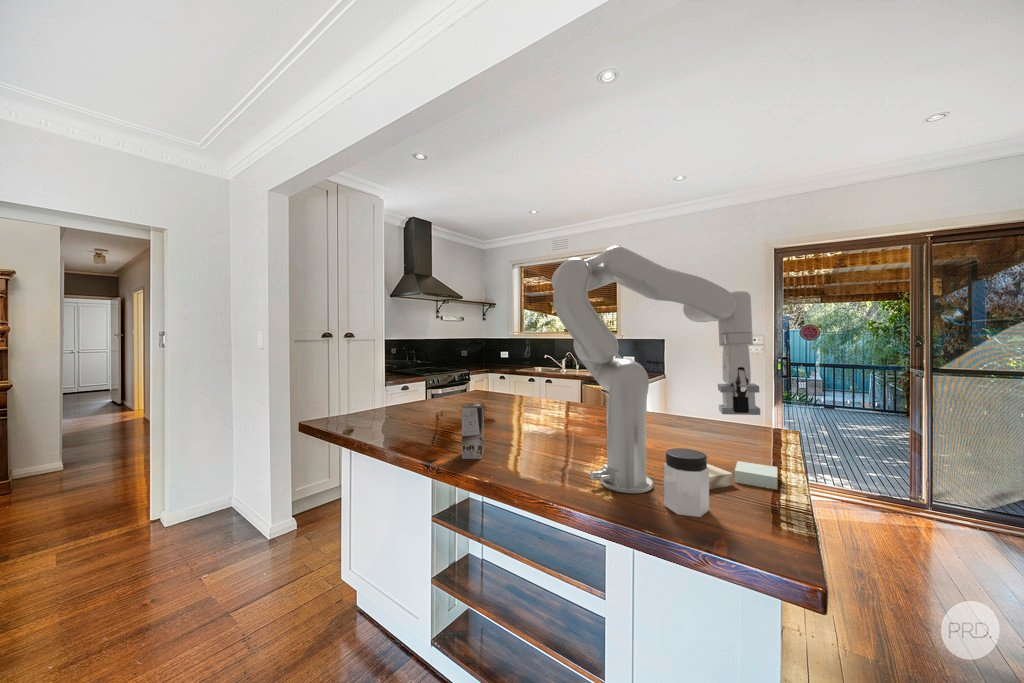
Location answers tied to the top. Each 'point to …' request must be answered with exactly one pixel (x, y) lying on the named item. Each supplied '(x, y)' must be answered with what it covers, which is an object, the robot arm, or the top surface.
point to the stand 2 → (756, 475)
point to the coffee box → (472, 430)
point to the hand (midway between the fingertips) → (738, 409)
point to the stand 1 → (719, 477)
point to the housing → (729, 394)
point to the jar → (686, 482)
